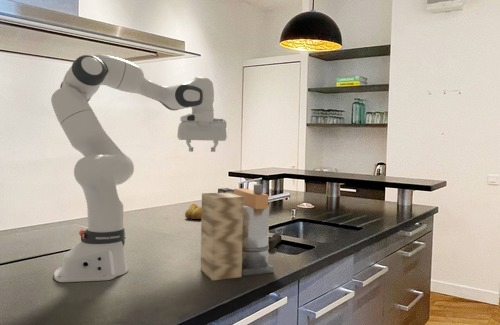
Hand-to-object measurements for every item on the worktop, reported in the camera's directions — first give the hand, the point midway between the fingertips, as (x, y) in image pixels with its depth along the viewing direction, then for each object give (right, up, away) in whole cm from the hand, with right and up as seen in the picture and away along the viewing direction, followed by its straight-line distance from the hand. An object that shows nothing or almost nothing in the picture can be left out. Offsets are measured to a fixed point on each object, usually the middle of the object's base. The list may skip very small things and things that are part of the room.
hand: (202, 151), depth 179 cm
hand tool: (+30, -40, +3) cm, 50 cm away
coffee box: (+6, -36, +71) cm, 80 cm away
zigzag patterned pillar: (+10, -41, -35) cm, 55 cm away
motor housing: (+20, -41, -30) cm, 55 cm away
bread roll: (-10, -36, +62) cm, 72 cm away
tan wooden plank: (+20, -19, -28) cm, 39 cm away
